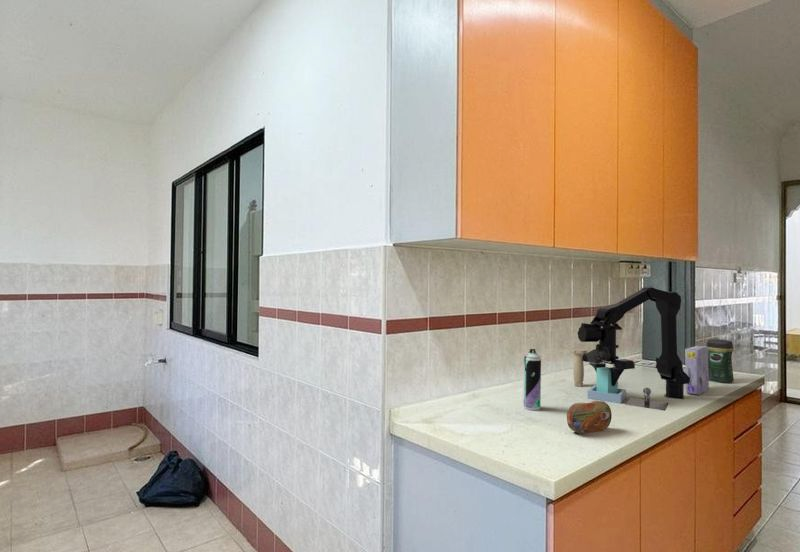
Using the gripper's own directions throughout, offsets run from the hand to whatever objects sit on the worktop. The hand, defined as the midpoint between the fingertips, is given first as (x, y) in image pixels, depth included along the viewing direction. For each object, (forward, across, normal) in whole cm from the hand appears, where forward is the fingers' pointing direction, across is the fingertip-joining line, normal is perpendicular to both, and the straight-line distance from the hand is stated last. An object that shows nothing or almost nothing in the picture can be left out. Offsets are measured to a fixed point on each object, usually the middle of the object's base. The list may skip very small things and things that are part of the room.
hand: (607, 384), depth 167 cm
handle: (+6, -21, +8) cm, 23 cm away
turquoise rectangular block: (+3, 0, 0) cm, 3 cm away
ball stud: (+6, +11, +6) cm, 14 cm away
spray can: (+6, -1, -34) cm, 35 cm away
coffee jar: (+6, -5, +76) cm, 76 cm away
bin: (+6, 0, 0) cm, 6 cm away
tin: (+6, +24, -35) cm, 43 cm away
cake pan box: (+6, +4, +47) cm, 47 cm away
